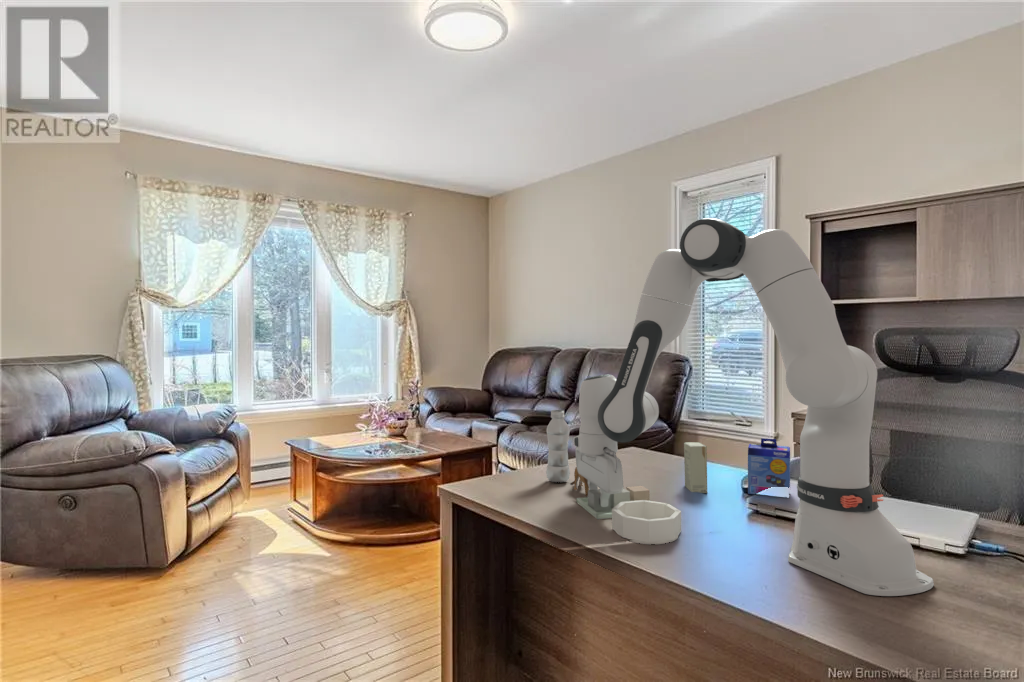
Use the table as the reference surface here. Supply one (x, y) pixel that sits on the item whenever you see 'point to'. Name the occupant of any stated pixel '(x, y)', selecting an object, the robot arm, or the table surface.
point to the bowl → (646, 521)
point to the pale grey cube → (619, 498)
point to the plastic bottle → (558, 448)
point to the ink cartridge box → (768, 466)
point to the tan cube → (638, 493)
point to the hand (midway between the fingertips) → (599, 502)
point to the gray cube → (596, 501)
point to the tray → (597, 515)
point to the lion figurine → (580, 481)
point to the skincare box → (695, 466)
